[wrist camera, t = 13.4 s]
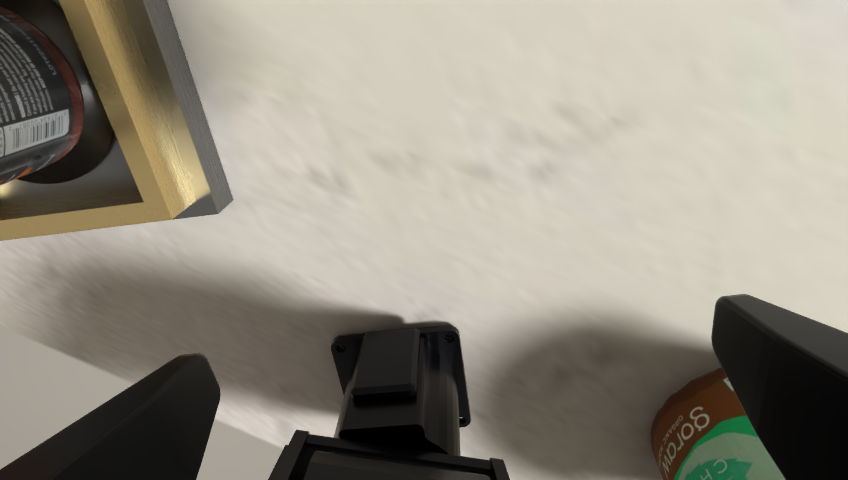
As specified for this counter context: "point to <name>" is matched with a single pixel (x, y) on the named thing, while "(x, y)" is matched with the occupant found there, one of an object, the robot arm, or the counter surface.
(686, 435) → the food container
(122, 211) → the gold-rimmed square tray
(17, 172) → the supplement bottle
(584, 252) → the counter surface
